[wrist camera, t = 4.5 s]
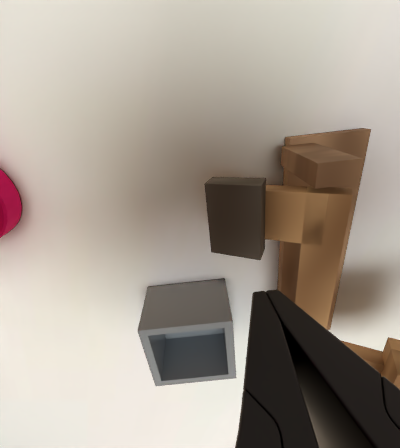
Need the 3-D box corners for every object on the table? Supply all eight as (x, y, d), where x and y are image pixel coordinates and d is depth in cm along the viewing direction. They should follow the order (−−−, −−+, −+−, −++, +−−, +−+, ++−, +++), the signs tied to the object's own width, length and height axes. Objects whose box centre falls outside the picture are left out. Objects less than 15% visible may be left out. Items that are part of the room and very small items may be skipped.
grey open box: (224, 278, 21) (232, 321, 17) (228, 331, 24) (236, 377, 20) (147, 286, 21) (137, 330, 17) (161, 338, 24) (155, 386, 20)
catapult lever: (702, 178, 8) (840, 212, 6) (484, 430, 15) (509, 484, 13) (218, 172, 15) (201, 186, 12) (231, 347, 22) (221, 374, 20)
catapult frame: (362, 128, 15) (444, 139, 10) (325, 322, 24) (362, 381, 19) (277, 138, 16) (319, 154, 11) (270, 328, 24) (291, 388, 19)
